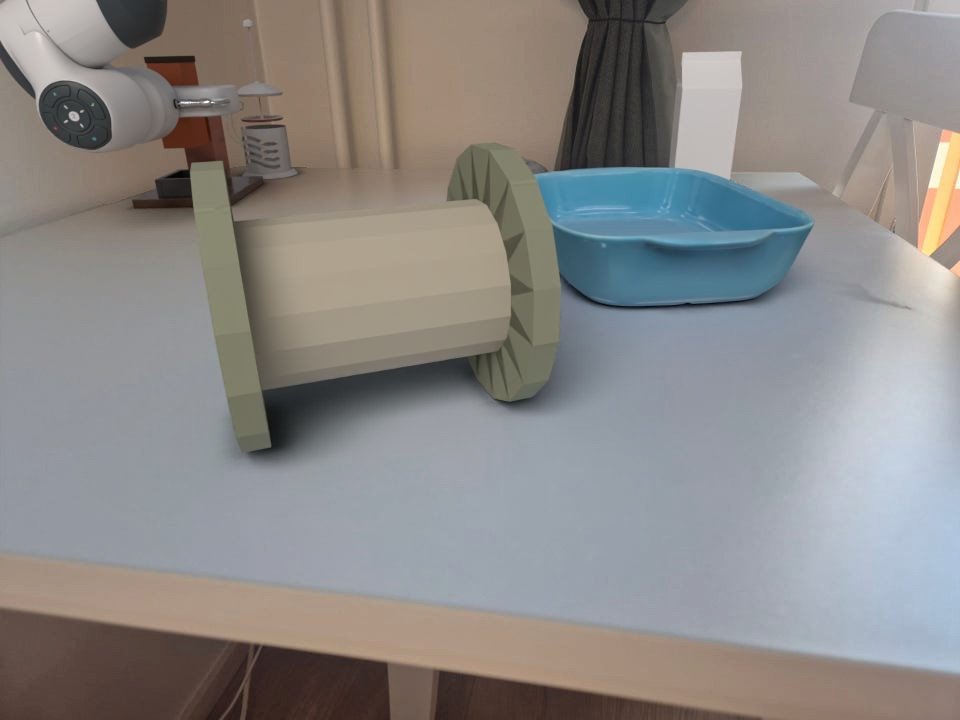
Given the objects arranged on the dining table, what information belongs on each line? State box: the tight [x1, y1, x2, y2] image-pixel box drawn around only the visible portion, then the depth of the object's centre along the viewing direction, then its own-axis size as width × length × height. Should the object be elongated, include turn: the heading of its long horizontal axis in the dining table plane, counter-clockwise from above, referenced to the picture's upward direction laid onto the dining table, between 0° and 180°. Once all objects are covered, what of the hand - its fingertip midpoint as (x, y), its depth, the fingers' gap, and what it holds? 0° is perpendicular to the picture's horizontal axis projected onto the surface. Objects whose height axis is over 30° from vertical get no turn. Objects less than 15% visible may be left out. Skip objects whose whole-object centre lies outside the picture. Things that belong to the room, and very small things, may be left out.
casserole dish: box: [534, 166, 815, 307], centre depth 67 cm, size 37×22×7 cm, turn 5°
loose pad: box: [143, 55, 209, 150], centre depth 97 cm, size 5×6×12 cm
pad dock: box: [131, 116, 265, 209], centre depth 103 cm, size 14×18×13 cm
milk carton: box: [668, 50, 743, 180], centre depth 88 cm, size 7×7×19 cm
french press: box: [224, 18, 299, 180], centre depth 117 cm, size 10×12×25 cm
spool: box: [190, 142, 562, 454], centre depth 39 cm, size 16×15×15 cm
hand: (180, 97), depth 98 cm, fingers closed on loose pad, 4 cm apart
